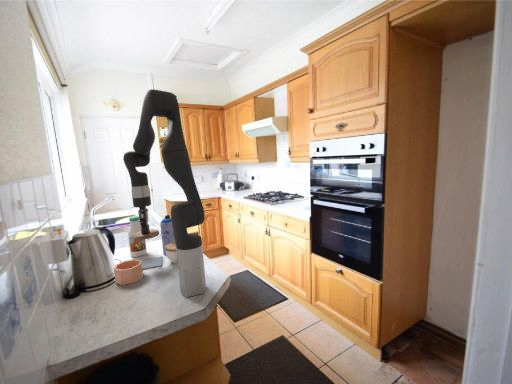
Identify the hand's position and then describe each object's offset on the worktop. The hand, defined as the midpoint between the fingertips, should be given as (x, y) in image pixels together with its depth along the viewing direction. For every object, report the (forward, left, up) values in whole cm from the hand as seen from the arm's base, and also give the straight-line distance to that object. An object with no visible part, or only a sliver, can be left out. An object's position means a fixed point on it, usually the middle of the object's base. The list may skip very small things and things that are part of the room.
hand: (145, 232), depth 119 cm
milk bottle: (+16, +6, -16) cm, 23 cm away
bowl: (-12, +7, -16) cm, 21 cm away
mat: (0, 0, -16) cm, 16 cm away
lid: (0, 0, -2) cm, 2 cm away
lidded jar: (-2, -13, -16) cm, 21 cm away
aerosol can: (+10, -10, -16) cm, 21 cm away
